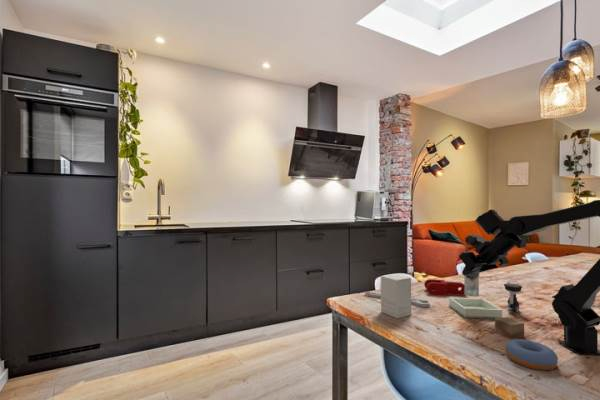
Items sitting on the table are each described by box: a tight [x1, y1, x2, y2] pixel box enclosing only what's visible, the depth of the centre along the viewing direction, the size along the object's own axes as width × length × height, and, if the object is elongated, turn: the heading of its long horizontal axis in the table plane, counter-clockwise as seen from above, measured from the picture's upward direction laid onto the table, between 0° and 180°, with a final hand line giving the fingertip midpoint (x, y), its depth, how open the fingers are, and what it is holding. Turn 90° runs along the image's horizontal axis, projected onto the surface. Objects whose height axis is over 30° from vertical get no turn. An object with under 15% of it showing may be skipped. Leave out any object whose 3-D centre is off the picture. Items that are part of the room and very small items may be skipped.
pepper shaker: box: [463, 271, 480, 298], centre depth 105 cm, size 5×5×9 cm
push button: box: [503, 281, 523, 314], centre depth 107 cm, size 7×5×10 cm
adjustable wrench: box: [364, 291, 431, 308], centre depth 119 cm, size 25×6×2 cm, turn 53°
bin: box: [448, 297, 503, 320], centre depth 105 cm, size 12×12×3 cm
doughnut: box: [505, 338, 559, 371], centre depth 72 cm, size 10×10×5 cm
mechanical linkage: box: [424, 278, 466, 297], centre depth 128 cm, size 16×7×5 cm, turn 76°
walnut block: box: [494, 316, 525, 340], centre depth 87 cm, size 5×5×4 cm
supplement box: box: [380, 273, 412, 319], centre depth 103 cm, size 7×7×13 cm
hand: (467, 273), depth 107 cm, fingers closed on pepper shaker, 5 cm apart
